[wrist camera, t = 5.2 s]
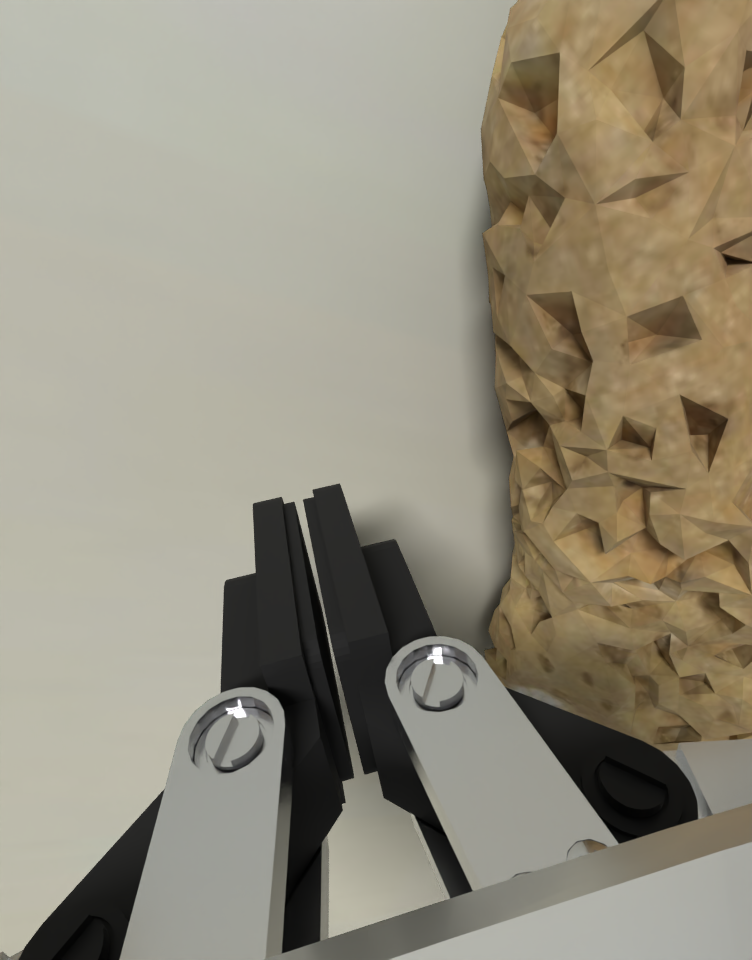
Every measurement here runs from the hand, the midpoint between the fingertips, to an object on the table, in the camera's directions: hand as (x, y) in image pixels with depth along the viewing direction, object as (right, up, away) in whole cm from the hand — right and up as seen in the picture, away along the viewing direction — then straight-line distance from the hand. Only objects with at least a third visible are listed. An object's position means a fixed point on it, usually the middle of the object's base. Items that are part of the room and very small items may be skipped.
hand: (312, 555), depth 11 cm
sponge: (+8, +4, +4) cm, 10 cm away
